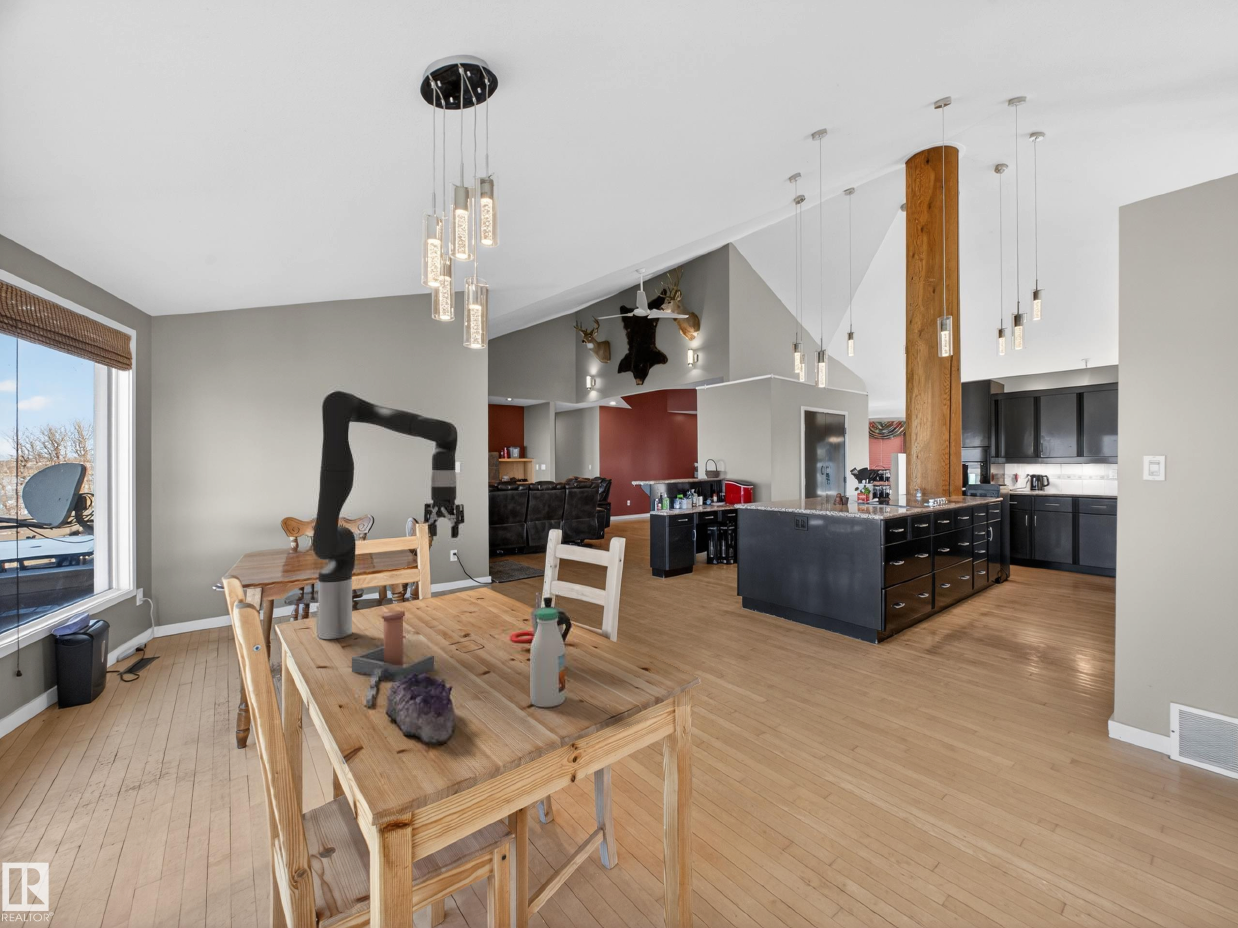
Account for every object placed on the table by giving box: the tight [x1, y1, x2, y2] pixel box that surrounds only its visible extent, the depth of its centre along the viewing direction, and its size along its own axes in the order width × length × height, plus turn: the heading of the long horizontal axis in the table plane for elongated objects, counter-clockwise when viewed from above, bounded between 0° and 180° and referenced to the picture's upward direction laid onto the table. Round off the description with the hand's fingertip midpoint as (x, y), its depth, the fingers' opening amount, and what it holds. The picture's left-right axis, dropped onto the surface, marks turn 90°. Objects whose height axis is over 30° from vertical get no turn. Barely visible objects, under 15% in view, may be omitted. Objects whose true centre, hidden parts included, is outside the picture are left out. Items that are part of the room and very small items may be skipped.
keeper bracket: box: [351, 645, 435, 682], centre depth 140 cm, size 18×11×4 cm, turn 65°
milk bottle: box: [529, 609, 566, 708], centre depth 122 cm, size 8×8×20 cm
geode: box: [385, 672, 456, 746], centre depth 111 cm, size 20×12×10 cm, turn 42°
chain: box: [365, 675, 380, 708], centre depth 127 cm, size 2×17×2 cm, turn 20°
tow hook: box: [509, 592, 542, 644], centre depth 166 cm, size 9×14×10 cm
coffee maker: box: [530, 596, 573, 643], centre depth 141 cm, size 15×9×18 cm, turn 47°
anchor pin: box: [380, 609, 406, 666], centre depth 140 cm, size 6×6×15 cm
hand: (444, 537), depth 171 cm, fingers open, 8 cm apart
